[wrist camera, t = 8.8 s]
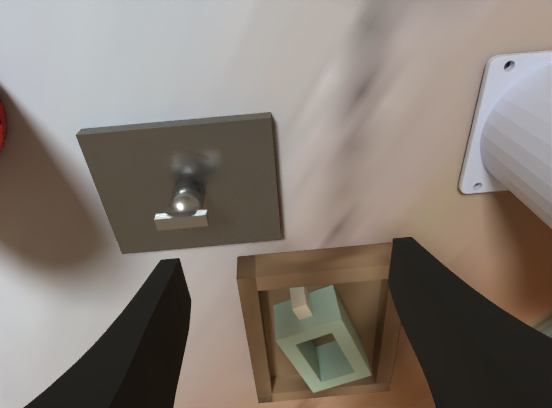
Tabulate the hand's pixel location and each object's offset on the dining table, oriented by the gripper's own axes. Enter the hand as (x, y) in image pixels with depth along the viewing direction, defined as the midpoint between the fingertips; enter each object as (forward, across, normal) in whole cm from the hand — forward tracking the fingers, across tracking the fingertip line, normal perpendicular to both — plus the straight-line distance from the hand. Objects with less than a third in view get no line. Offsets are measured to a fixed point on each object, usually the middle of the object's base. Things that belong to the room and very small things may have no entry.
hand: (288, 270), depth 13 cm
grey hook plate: (+10, +5, +2) cm, 11 cm away
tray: (+10, -2, +15) cm, 18 cm away
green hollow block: (+9, -2, +15) cm, 18 cm away
